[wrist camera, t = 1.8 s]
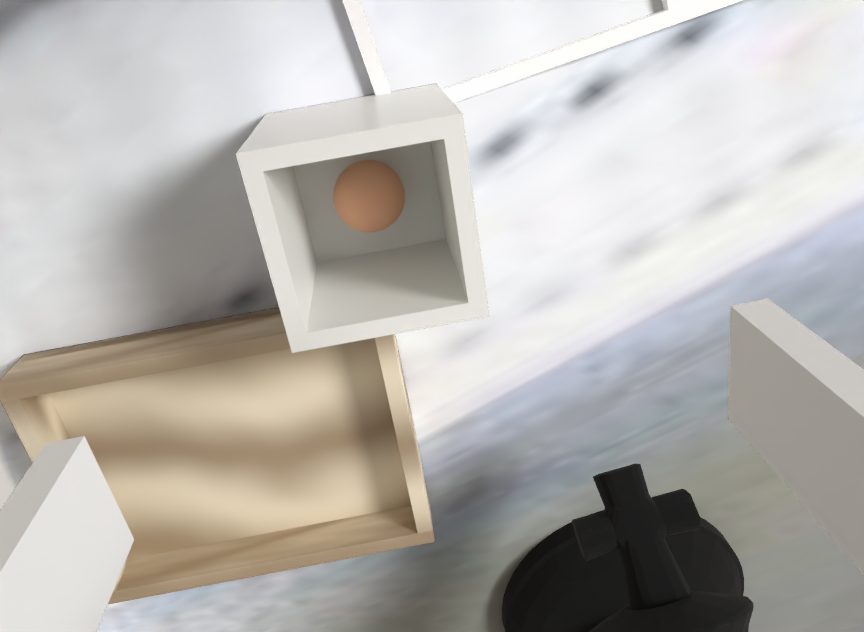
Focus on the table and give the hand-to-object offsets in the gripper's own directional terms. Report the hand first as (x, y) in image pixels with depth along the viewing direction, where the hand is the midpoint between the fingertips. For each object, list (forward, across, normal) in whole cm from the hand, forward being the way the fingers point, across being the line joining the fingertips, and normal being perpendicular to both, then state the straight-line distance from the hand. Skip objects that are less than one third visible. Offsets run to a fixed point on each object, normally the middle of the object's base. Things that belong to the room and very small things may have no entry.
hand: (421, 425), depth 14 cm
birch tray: (+19, -10, -12) cm, 24 cm away
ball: (+18, -1, 0) cm, 18 cm away
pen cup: (+19, -1, 0) cm, 19 cm away
